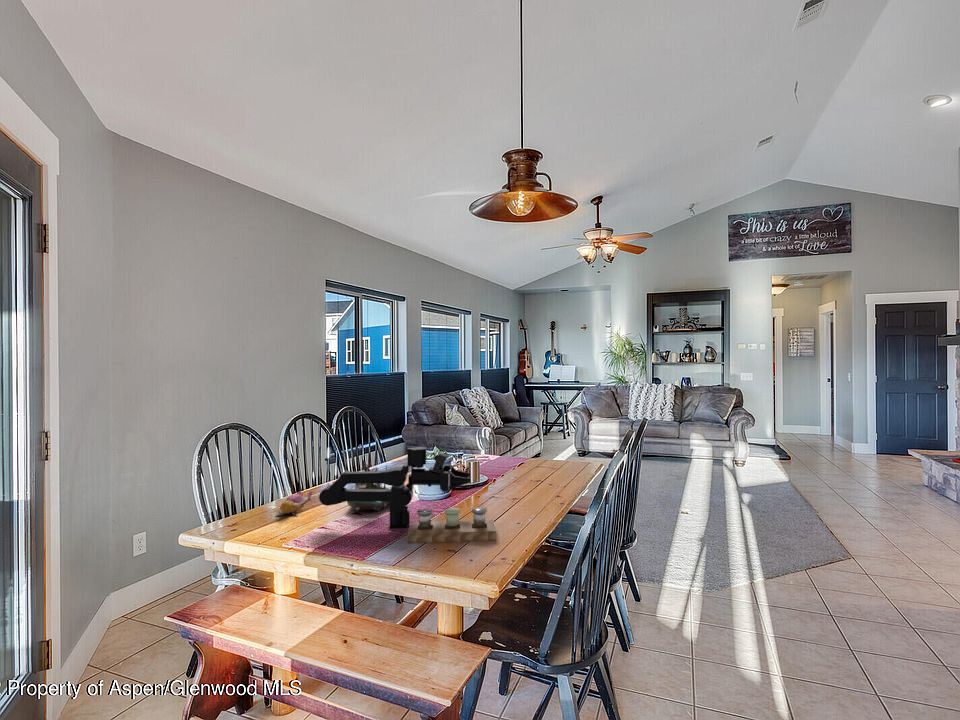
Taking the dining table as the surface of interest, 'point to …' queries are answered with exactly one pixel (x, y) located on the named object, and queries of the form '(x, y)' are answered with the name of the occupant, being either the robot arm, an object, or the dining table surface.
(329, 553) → the dining table surface
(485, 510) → the plunger
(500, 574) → the dining table surface
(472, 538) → the walnut board
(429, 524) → the plunger
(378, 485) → the diorama
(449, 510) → the sage plug
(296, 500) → the figurine
